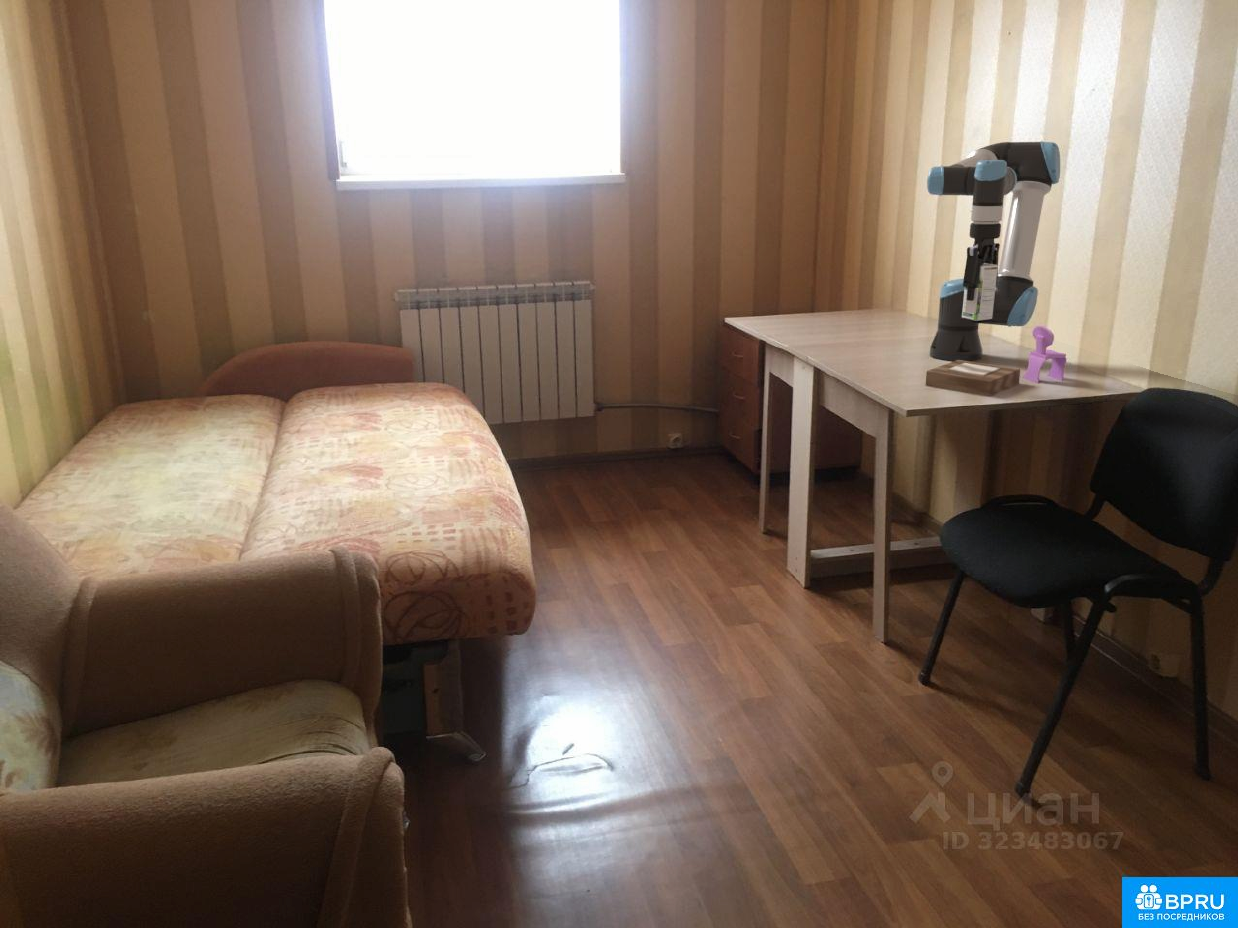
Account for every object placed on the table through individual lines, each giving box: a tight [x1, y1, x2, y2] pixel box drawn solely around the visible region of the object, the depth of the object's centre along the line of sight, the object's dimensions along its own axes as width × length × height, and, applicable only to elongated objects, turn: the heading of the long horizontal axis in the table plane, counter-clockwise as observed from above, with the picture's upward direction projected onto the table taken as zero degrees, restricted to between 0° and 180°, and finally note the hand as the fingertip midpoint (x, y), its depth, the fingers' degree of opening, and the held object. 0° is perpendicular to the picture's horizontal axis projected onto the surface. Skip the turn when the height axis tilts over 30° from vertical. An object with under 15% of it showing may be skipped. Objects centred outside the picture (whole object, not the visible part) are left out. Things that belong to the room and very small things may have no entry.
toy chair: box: [1022, 325, 1067, 384], centre depth 277 cm, size 8×9×15 cm
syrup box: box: [962, 263, 999, 321], centre depth 267 cm, size 6×6×14 cm
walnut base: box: [925, 360, 1021, 397], centre depth 274 cm, size 18×18×4 cm
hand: (977, 310), depth 269 cm, fingers closed on syrup box, 7 cm apart
